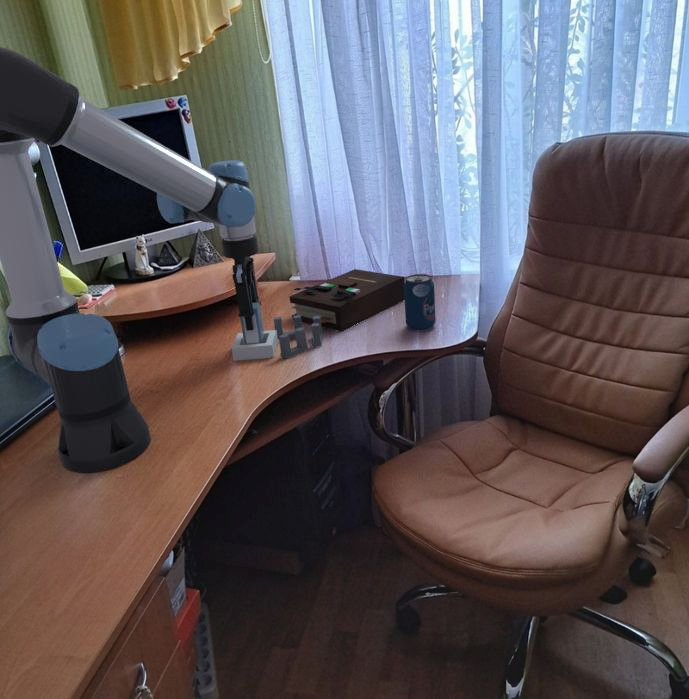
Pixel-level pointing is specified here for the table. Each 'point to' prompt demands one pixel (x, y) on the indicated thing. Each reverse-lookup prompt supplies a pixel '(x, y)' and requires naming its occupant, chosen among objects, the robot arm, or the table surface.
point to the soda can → (419, 302)
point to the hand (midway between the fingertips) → (254, 338)
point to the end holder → (255, 347)
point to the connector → (258, 320)
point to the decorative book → (348, 298)
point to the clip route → (297, 336)
